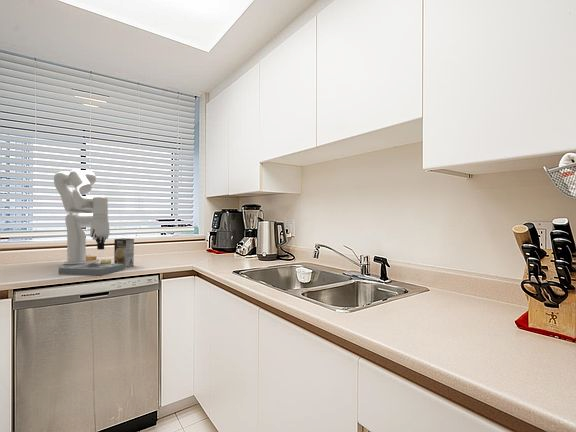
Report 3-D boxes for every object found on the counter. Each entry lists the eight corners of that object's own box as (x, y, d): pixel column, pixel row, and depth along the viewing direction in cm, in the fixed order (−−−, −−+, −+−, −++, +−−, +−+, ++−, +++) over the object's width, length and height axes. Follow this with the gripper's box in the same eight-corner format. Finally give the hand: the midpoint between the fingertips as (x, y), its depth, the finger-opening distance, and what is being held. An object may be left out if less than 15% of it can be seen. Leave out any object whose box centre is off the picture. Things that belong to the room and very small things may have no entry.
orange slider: (90, 262, 174) (90, 256, 174) (96, 262, 174) (96, 256, 174) (85, 263, 171) (85, 256, 171) (92, 263, 171) (92, 256, 171)
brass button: (105, 262, 166) (105, 259, 166) (113, 262, 165) (113, 259, 165) (98, 264, 161) (98, 260, 161) (106, 264, 160) (106, 260, 160)
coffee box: (113, 266, 182) (113, 238, 182) (122, 264, 188) (122, 238, 188) (125, 267, 179) (125, 239, 179) (134, 265, 185) (134, 238, 185)
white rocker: (91, 263, 167) (91, 260, 167) (99, 261, 166) (99, 259, 166) (85, 264, 163) (85, 261, 163) (93, 262, 162) (93, 260, 162)
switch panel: (86, 268, 175) (86, 261, 175) (125, 269, 171) (125, 262, 171) (58, 273, 157) (58, 266, 157) (100, 275, 154) (100, 268, 154)
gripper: (104, 217, 187) (104, 248, 186) (84, 217, 172) (84, 250, 172) (115, 217, 186) (115, 248, 185) (96, 217, 171) (96, 250, 170)
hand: (100, 249), depth 178 cm, fingers closed
